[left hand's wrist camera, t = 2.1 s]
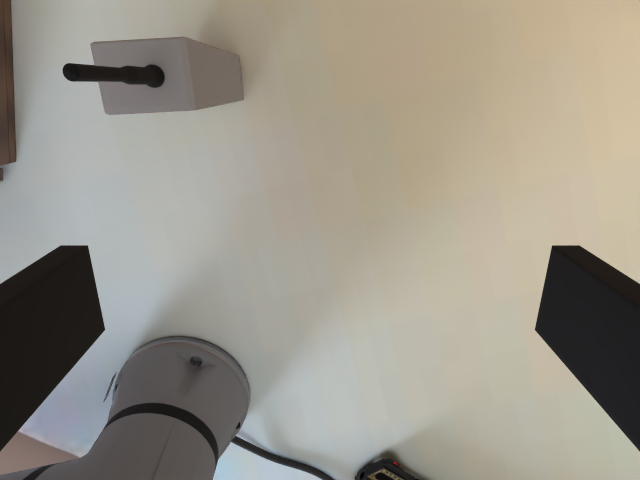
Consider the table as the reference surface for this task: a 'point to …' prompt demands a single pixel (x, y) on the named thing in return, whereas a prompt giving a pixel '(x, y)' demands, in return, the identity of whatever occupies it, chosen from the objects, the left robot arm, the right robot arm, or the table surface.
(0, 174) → the drawer
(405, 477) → the decorative firearm
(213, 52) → the vintage mobile phone
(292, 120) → the table surface
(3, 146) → the cabinet
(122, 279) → the table surface
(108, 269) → the table surface
